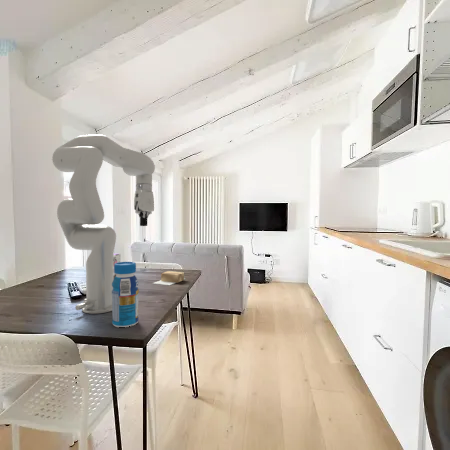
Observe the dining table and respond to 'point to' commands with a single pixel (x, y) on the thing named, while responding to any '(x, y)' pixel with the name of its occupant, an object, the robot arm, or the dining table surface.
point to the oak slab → (172, 276)
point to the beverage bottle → (125, 295)
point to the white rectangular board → (164, 282)
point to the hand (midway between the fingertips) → (143, 225)
